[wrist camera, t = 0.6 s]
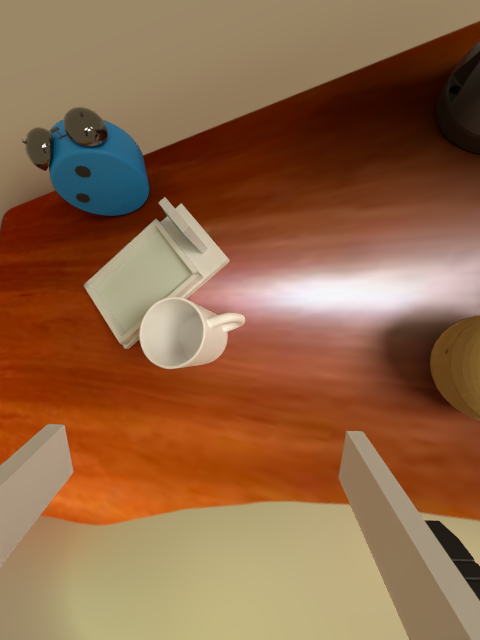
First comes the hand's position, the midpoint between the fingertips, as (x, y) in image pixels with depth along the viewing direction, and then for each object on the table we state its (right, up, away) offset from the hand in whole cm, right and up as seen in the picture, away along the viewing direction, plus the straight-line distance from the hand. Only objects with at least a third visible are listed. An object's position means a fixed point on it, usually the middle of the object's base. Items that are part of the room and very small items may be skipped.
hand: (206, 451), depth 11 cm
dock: (-12, +14, +29) cm, 34 cm away
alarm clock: (-18, +28, +33) cm, 47 cm away
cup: (-2, +4, +26) cm, 26 cm away
